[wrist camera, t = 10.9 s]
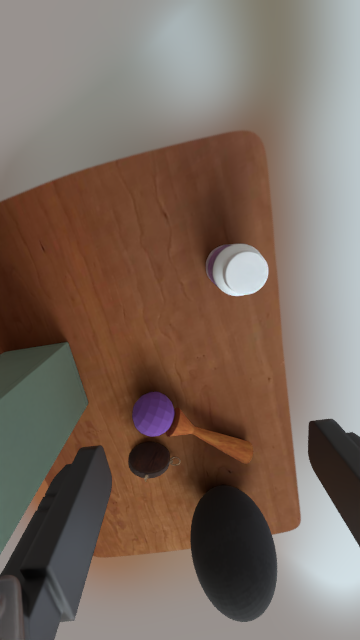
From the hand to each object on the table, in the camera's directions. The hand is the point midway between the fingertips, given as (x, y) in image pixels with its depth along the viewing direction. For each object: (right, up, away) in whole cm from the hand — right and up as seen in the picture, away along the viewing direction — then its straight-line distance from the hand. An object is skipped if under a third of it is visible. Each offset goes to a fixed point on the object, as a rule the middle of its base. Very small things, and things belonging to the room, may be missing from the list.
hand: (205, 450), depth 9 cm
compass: (-5, -17, +31) cm, 36 cm away
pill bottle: (+5, +12, +21) cm, 25 cm away
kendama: (+1, -11, +29) cm, 31 cm away
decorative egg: (+7, -27, +34) cm, 43 cm away
